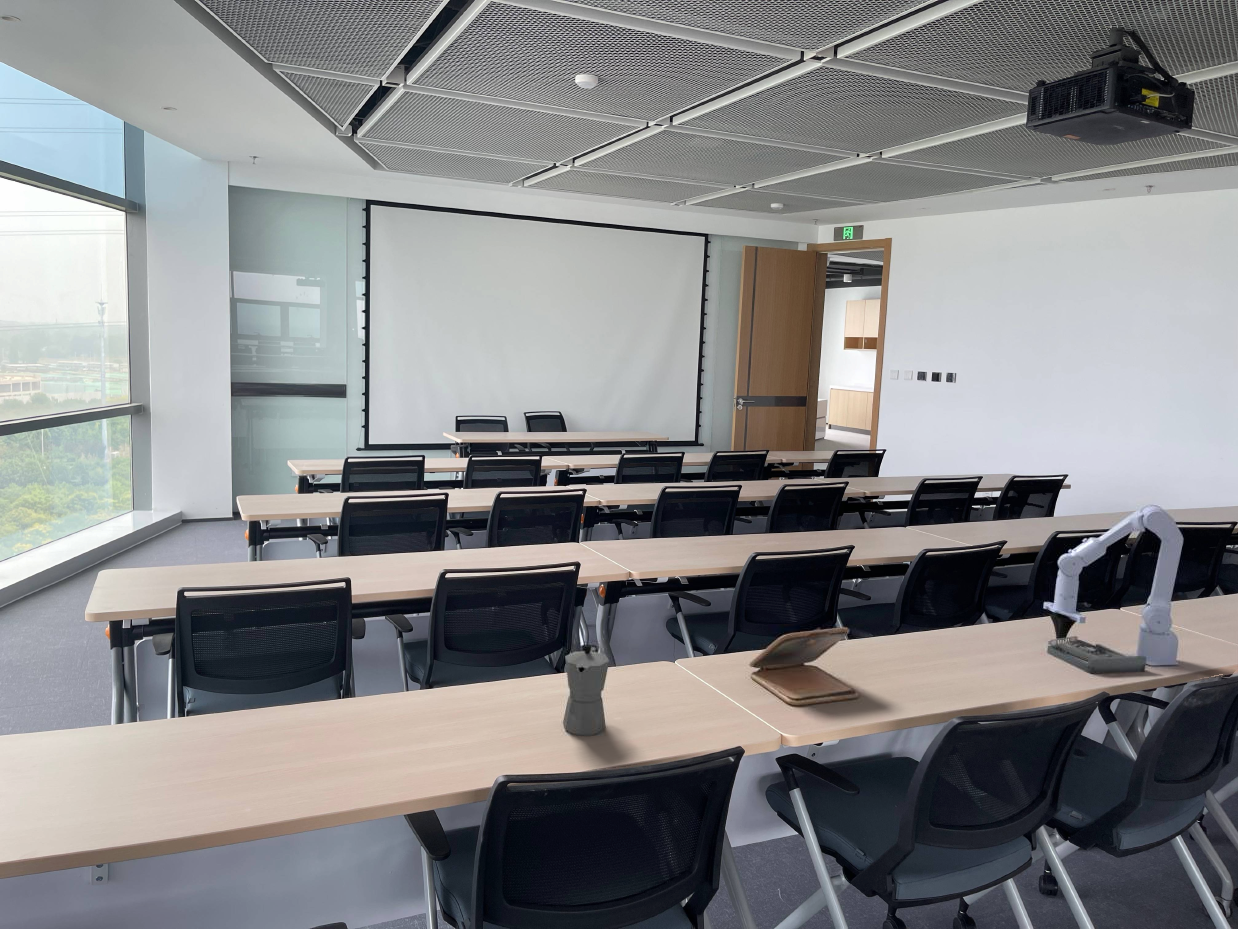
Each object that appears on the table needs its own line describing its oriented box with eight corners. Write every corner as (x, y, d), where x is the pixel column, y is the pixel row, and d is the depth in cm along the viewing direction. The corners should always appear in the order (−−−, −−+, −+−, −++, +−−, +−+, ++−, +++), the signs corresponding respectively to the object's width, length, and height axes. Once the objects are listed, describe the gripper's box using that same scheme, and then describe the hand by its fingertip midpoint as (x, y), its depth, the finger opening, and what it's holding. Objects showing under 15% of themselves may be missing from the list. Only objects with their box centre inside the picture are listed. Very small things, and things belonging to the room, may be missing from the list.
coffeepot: (600, 743, 168) (604, 657, 166) (555, 737, 169) (558, 653, 167) (612, 712, 183) (616, 633, 181) (571, 707, 184) (574, 629, 182)
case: (813, 668, 217) (817, 608, 215) (863, 699, 197) (868, 634, 195) (744, 676, 209) (748, 614, 207) (790, 709, 190) (794, 642, 188)
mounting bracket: (1098, 650, 241) (1100, 637, 240) (1144, 671, 225) (1146, 657, 225) (1047, 652, 237) (1048, 639, 237) (1090, 673, 221) (1092, 659, 221)
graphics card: (1045, 638, 240) (1075, 634, 245) (1044, 651, 241) (1074, 646, 245) (1096, 659, 225) (1128, 654, 229) (1095, 673, 225) (1126, 667, 230)
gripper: (1036, 588, 248) (1031, 631, 250) (1072, 602, 234) (1067, 648, 236) (1057, 587, 250) (1052, 631, 251) (1094, 601, 236) (1088, 647, 237)
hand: (1060, 639), depth 244 cm, fingers closed
